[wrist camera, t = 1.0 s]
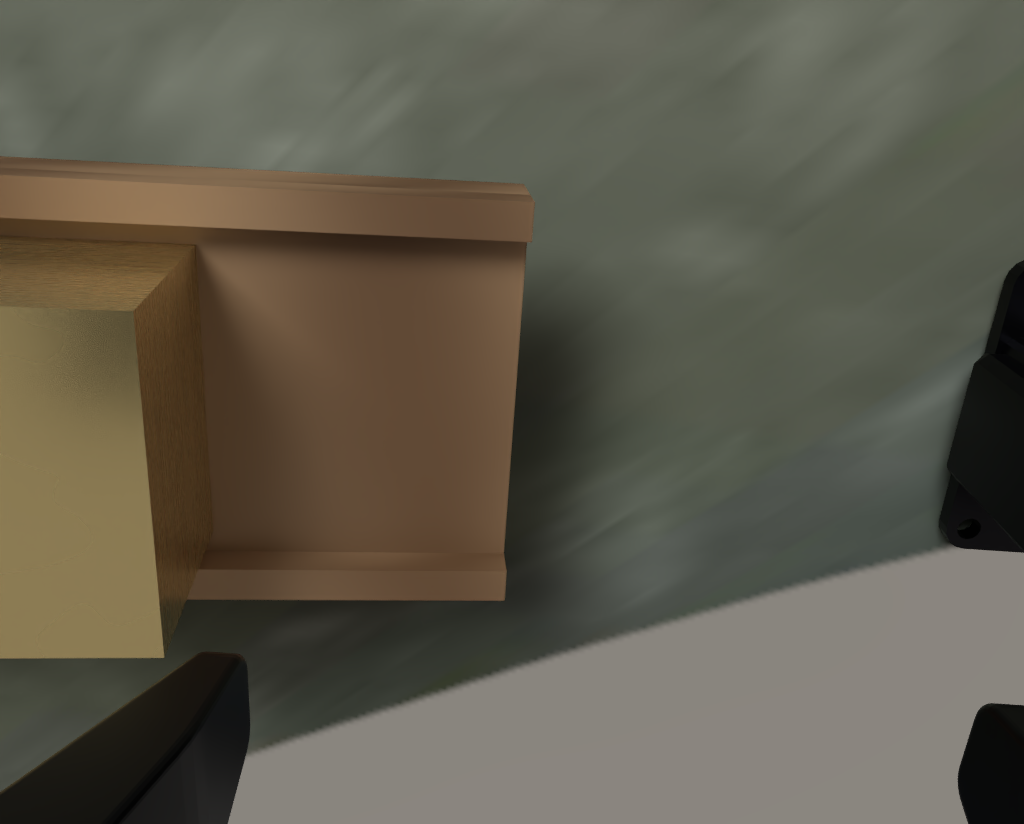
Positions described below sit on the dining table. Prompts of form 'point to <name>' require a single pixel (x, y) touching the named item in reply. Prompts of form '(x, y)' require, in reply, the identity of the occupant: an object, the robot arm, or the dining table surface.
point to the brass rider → (99, 446)
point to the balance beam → (331, 364)
